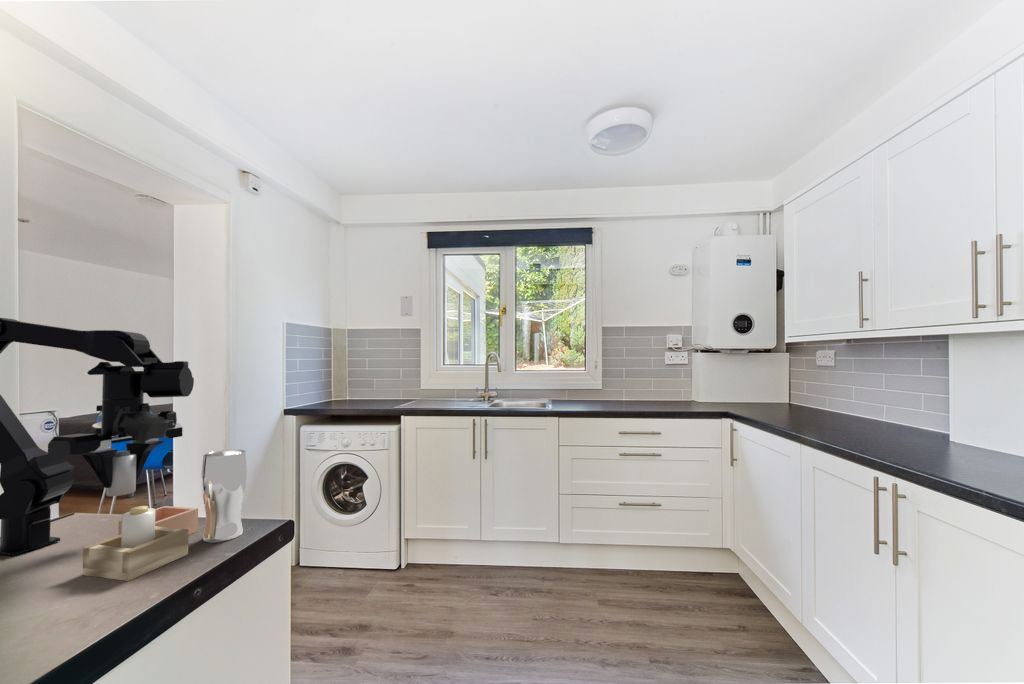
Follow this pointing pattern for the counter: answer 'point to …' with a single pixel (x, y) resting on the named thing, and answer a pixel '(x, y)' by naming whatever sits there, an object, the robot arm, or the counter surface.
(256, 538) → the counter surface
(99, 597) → the counter surface
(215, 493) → the beer glass
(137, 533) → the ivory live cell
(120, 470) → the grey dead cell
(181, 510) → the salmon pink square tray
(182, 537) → the frame
